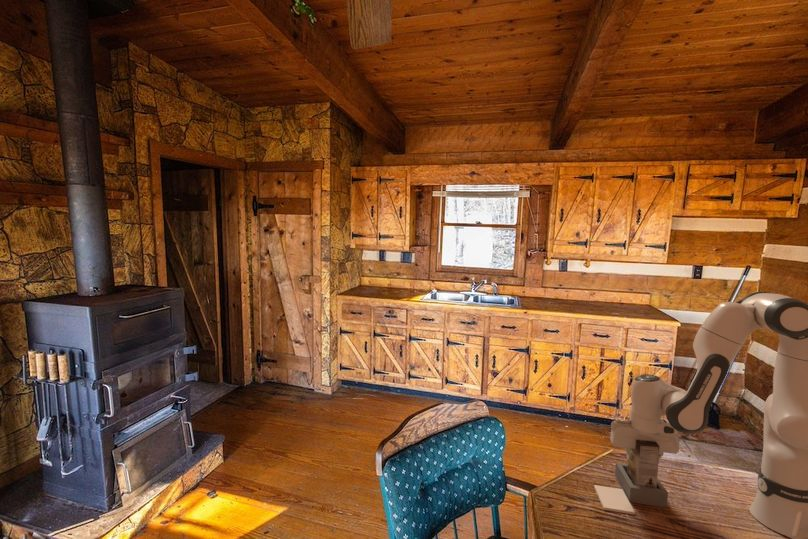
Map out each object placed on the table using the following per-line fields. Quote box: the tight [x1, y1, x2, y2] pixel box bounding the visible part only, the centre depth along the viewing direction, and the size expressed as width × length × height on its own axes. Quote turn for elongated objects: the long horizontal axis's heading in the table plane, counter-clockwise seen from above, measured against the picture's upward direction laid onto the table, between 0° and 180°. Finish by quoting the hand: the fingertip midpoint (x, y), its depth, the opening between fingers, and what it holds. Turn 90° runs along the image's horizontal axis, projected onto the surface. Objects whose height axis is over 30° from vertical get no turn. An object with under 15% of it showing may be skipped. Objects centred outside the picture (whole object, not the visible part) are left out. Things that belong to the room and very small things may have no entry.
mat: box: [593, 484, 636, 516], centre depth 123 cm, size 9×11×1 cm
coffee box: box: [627, 440, 660, 488], centre depth 127 cm, size 9×6×16 cm
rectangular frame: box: [614, 461, 669, 508], centre depth 128 cm, size 11×14×5 cm
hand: (642, 460), depth 127 cm, fingers closed on coffee box, 6 cm apart
